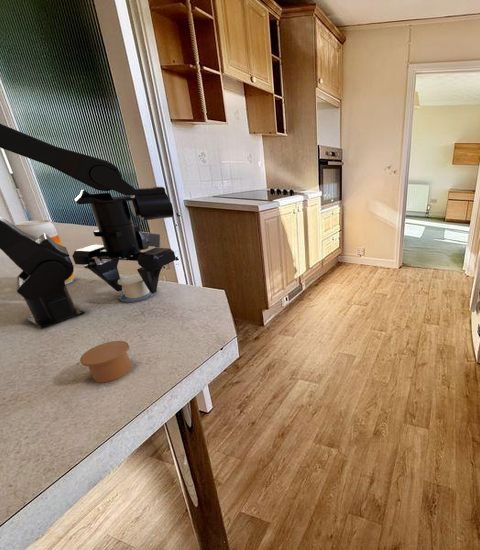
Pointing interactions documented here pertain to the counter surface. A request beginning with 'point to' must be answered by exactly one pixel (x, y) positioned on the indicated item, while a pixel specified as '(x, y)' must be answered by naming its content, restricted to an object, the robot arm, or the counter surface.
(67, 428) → the counter surface
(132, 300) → the saucer
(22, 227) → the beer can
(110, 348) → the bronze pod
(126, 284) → the cream pod
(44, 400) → the counter surface
